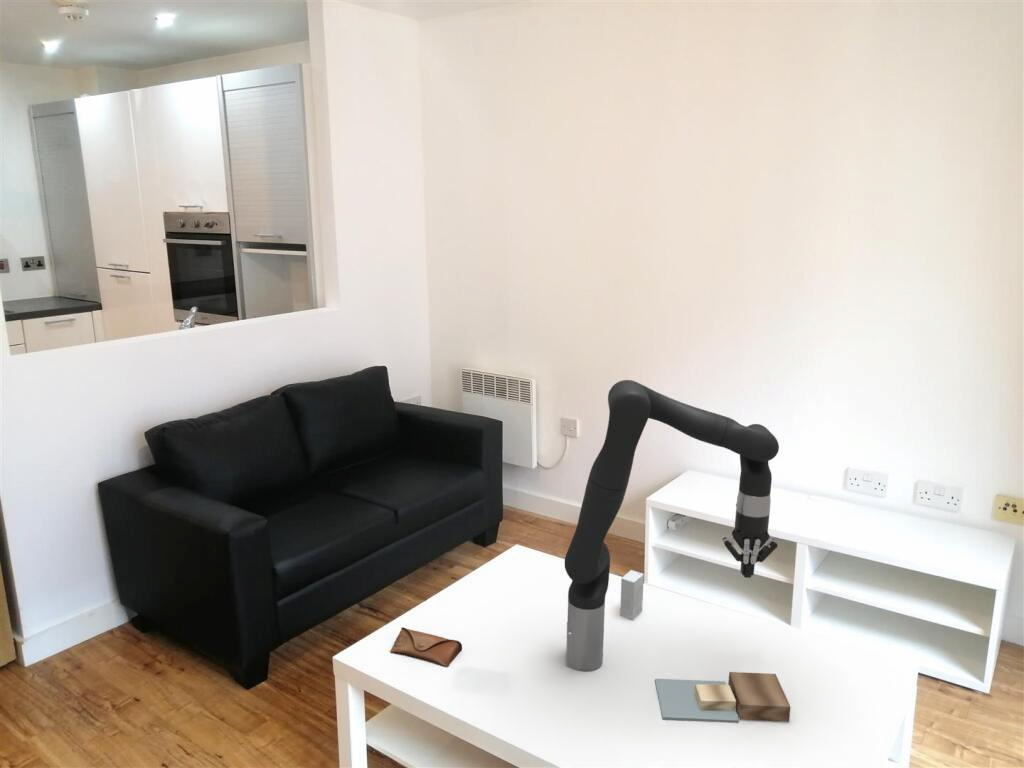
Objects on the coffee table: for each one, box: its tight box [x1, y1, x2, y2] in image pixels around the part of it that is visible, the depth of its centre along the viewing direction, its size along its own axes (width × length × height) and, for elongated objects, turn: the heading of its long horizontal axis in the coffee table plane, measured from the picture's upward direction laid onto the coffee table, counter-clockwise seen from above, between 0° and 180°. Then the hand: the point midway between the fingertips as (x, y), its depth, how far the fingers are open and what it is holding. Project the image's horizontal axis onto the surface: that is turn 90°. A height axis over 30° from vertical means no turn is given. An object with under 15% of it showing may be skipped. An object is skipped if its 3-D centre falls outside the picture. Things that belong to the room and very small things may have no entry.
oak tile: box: [695, 684, 736, 711], centre depth 175 cm, size 8×6×2 cm
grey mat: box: [654, 678, 740, 724], centre depth 177 cm, size 17×14×1 cm
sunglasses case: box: [388, 626, 463, 668], centre depth 195 cm, size 18×7×7 cm
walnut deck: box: [727, 671, 792, 723], centre depth 175 cm, size 11×12×4 cm
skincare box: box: [619, 569, 645, 621], centre depth 212 cm, size 6×4×12 cm
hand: (746, 576), depth 180 cm, fingers closed
